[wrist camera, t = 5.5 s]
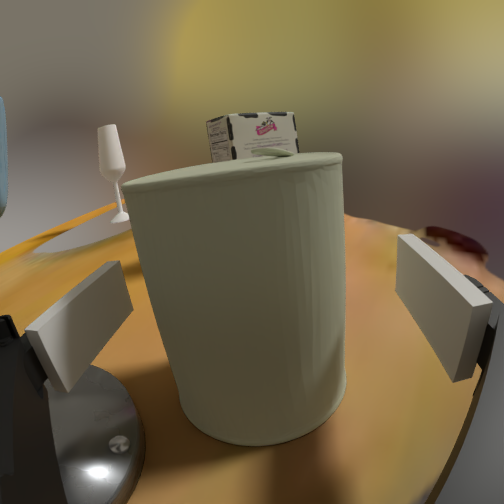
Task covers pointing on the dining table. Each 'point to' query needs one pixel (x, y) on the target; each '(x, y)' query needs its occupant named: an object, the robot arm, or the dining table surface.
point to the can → (248, 289)
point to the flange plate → (97, 439)
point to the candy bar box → (251, 134)
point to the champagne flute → (112, 163)
